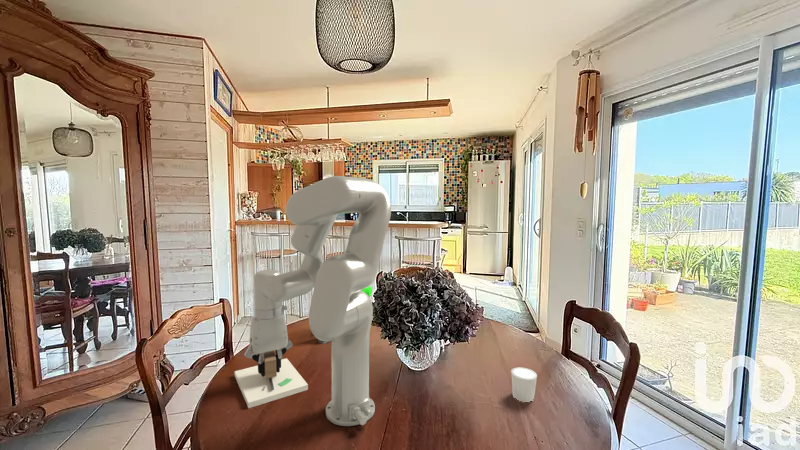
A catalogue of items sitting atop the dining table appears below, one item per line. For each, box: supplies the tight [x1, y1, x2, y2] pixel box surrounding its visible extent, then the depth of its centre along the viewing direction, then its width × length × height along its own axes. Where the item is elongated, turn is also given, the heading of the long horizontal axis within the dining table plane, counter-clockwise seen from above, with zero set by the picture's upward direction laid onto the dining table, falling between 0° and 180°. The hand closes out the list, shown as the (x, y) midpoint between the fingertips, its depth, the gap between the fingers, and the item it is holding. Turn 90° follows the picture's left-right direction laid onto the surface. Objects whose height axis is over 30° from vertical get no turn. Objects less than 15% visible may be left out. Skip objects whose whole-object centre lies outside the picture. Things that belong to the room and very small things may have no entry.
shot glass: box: [510, 366, 538, 403], centre depth 97 cm, size 7×7×7 cm
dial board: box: [234, 357, 309, 409], centre depth 103 cm, size 20×16×2 cm
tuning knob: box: [263, 350, 277, 390], centre depth 101 cm, size 12×3×7 cm, turn 25°
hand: (269, 372), depth 103 cm, fingers closed on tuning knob, 3 cm apart
